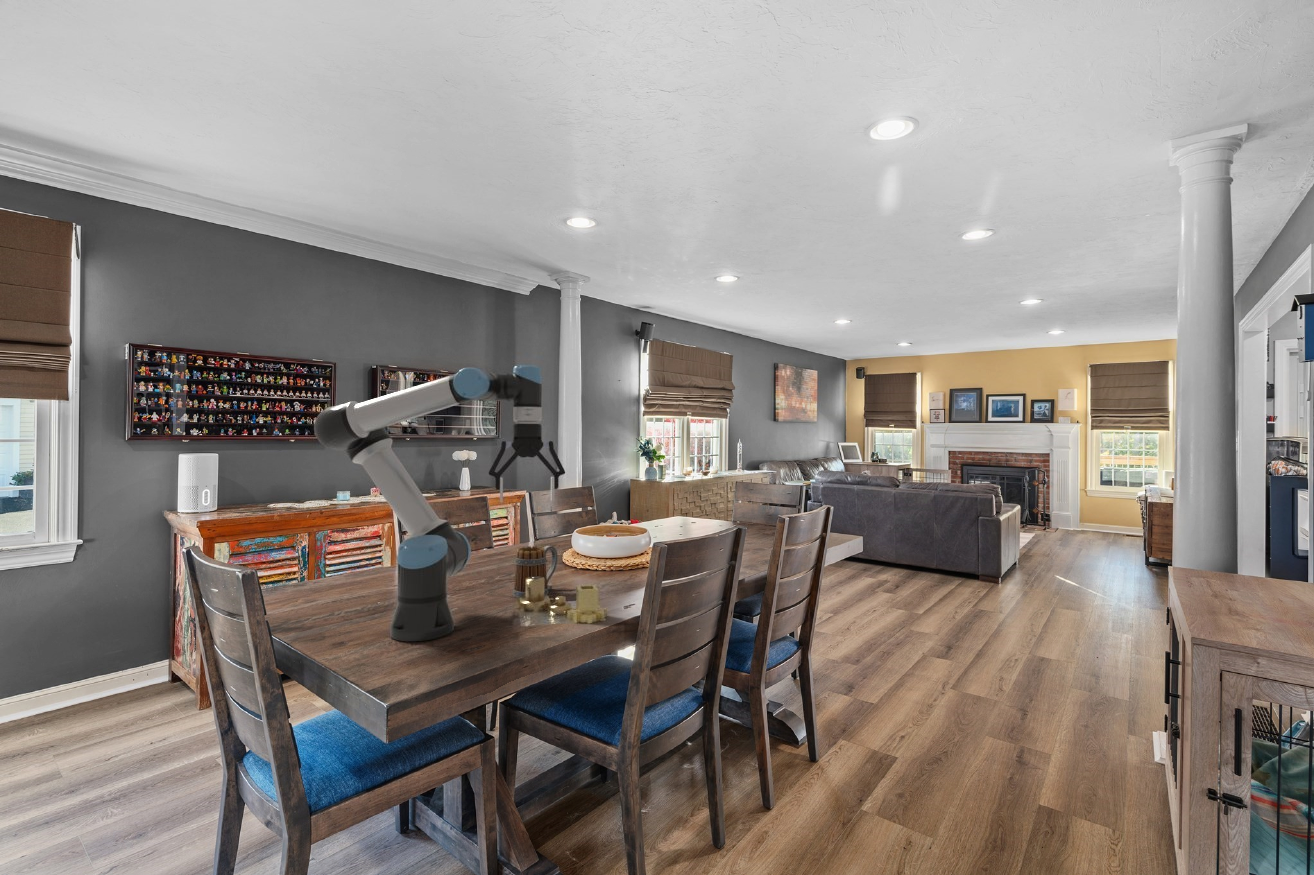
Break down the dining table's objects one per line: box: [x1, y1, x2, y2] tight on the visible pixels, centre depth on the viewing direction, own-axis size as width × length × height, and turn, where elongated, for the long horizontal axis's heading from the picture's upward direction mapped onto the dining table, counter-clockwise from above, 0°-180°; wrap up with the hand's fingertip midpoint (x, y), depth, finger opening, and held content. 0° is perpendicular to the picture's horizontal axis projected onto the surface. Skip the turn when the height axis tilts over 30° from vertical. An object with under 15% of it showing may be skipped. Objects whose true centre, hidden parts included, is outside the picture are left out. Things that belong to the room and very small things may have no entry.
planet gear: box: [567, 584, 608, 624], centre depth 164 cm, size 10×10×8 cm
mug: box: [512, 545, 558, 599], centre depth 188 cm, size 16×11×15 cm
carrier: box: [515, 576, 607, 627], centre depth 169 cm, size 23×22×10 cm
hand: (527, 501), depth 167 cm, fingers open, 13 cm apart
